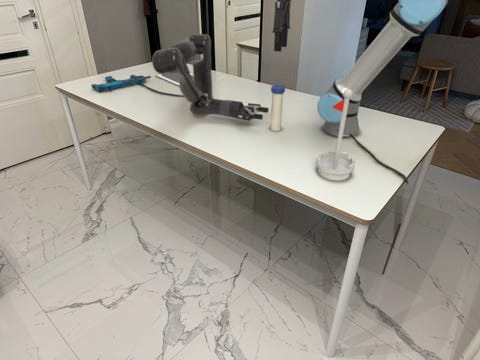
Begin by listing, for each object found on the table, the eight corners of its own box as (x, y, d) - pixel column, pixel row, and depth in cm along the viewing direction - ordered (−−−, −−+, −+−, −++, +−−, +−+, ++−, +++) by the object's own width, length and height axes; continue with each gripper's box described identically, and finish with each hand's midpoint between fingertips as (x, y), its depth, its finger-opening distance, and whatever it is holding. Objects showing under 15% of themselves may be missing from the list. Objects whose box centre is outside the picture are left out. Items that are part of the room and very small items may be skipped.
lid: (285, 93, 140) (286, 88, 139) (272, 94, 140) (272, 89, 139) (283, 89, 145) (283, 84, 144) (270, 89, 145) (270, 85, 144)
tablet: (155, 75, 221) (155, 75, 220) (182, 70, 232) (182, 69, 231) (182, 87, 200) (182, 86, 200) (210, 80, 211) (209, 80, 211)
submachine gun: (137, 69, 223) (155, 75, 206) (138, 75, 225) (156, 81, 208) (84, 79, 204) (99, 87, 188) (85, 85, 206) (101, 94, 190)
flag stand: (338, 160, 128) (352, 80, 111) (360, 177, 117) (380, 93, 101) (308, 166, 124) (318, 85, 107) (328, 185, 113) (343, 98, 97)
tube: (281, 130, 150) (284, 89, 140) (271, 131, 150) (273, 89, 140) (279, 126, 154) (282, 86, 144) (269, 126, 154) (271, 86, 143)
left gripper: (225, 106, 147) (260, 111, 142) (237, 96, 158) (270, 100, 153) (225, 122, 151) (260, 127, 146) (237, 111, 162) (269, 115, 157)
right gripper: (287, -17, 111) (283, 55, 124) (301, -20, 128) (295, 44, 140) (265, -17, 114) (263, 53, 126) (281, -20, 130) (278, 43, 142)
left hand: (265, 113), depth 149 cm, fingers open, 8 cm apart
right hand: (280, 48), depth 133 cm, fingers open, 8 cm apart
